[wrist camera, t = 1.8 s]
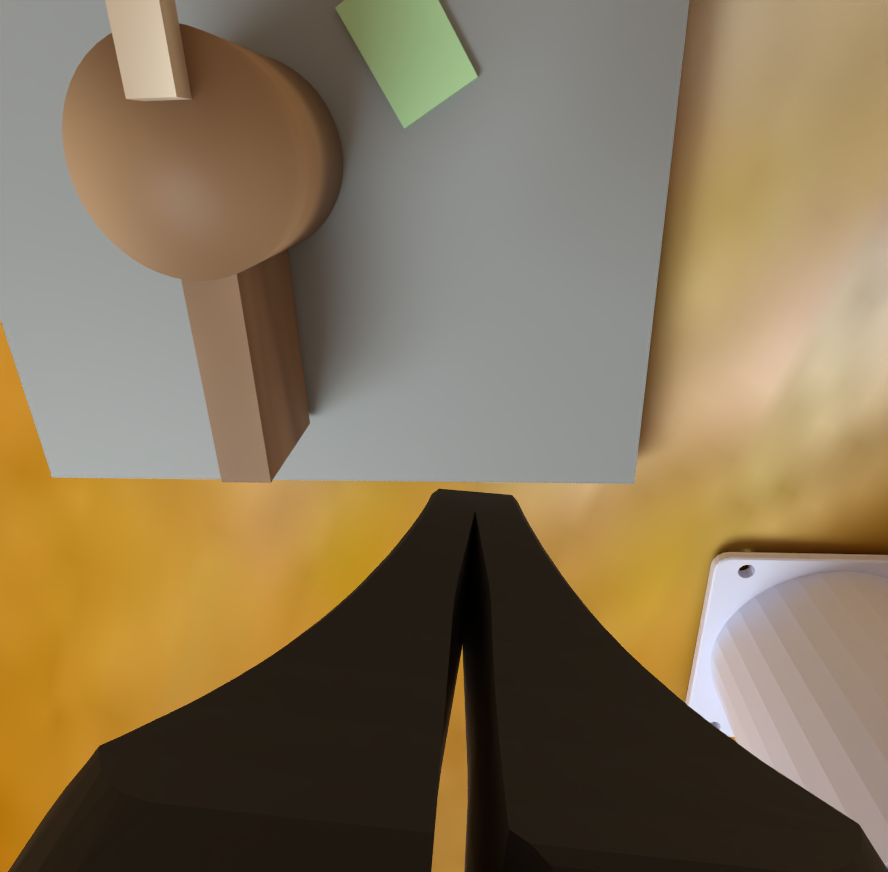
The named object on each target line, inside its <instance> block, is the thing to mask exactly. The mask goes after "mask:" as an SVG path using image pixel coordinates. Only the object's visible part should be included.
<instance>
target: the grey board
mask: <svg viewBox="0 0 888 872" xmlns="http://www.w3.org/2000/svg"><path fill="white" fill-rule="evenodd" d="M343 1H344V0H175V3H176V9H177V15H178V21H179V23H180V24H185V25H189V26H191V27H194V28H197V29H200V30H203V31H205V32H208V33H210V34H213V35H215V36H218V37H220V38H223V39H225V40H228V41H230V42H233V43H235V44H237V45H240V46H242V47H245V48H247V49H250V50H252V51H255V52H257V53H260V54H262V55H265V56H267V57H270V58H272V59H274V60H277V61H279V62H281V63H283V64H285V65H287V66H288V67H290V68H291V69H293V70H294V71H296V72H297V73H299V74H300V75H301V76H302V77H303V78H304V79H305V80H307V81H308V82H309V83H310V84H311V86H312V87H313V88H314V89H315V90H316V91H317V92H318V94H319V95H320V97H321V98H322V99H323V101H324V102H325V104H326V105H327V107H328V109H329V111H330V113H331V115H332V117H333V119H334V122H335V124H336V127H337V130H338V133H339V137H340V141H341V147H342V153H343V176H342V183H341V188H340V193H339V196H338V198H337V201H336V204H335V206H334V208H333V210H332V212H331V214H330V215H329V217H328V218H327V220H326V221H325V222H324V224H323V225H322V226H321V227H320V228H319V229H318V230H317V231H316V232H315V233H314V234H313V235H311V236H310V237H309V238H308V239H306V240H304V241H302V242H301V243H299V244H297V245H295V246H293V247H291V248H289V249H288V254H289V262H290V270H291V278H292V286H293V294H294V301H295V309H296V317H297V325H298V333H299V341H300V348H301V356H302V364H303V372H304V380H305V388H306V395H307V403H308V411H309V419H310V424H309V426H308V427H307V429H306V430H305V432H304V433H303V435H302V436H301V438H300V440H299V441H298V443H297V444H296V446H295V447H294V449H293V450H292V452H291V453H290V455H289V456H288V458H287V459H286V461H285V462H284V464H283V465H282V467H281V468H280V470H279V471H278V473H277V474H276V476H275V477H274V479H273V480H335V481H428V482H520V483H612V484H634V481H635V473H636V464H637V455H638V446H639V438H640V429H641V420H642V411H643V403H644V394H645V385H646V377H647V368H648V359H649V350H650V342H651V333H652V324H653V316H654V307H655V298H656V289H657V281H658V272H659V263H660V254H661V246H662V237H663V228H664V220H665V211H666V202H667V193H668V185H669V176H670V167H671V158H672V150H673V141H674V132H675V124H676V115H677V106H678V97H679V89H680V80H681V71H682V62H683V54H684V45H685V36H686V28H687V19H688V10H689V1H690V0H439V2H440V4H441V6H442V8H443V10H444V12H445V14H446V16H447V18H448V20H449V22H450V24H451V26H452V28H453V29H454V31H455V33H456V35H457V37H458V39H459V41H460V43H461V45H462V47H463V49H464V51H465V53H466V55H467V57H468V58H469V60H470V62H471V64H472V66H473V68H474V70H475V72H476V74H477V76H478V78H477V79H475V80H474V81H473V82H471V83H470V84H468V85H467V86H465V87H464V88H463V89H461V90H460V91H458V92H457V93H455V94H454V95H453V96H451V97H450V98H448V99H447V100H445V101H444V102H443V103H441V104H440V105H438V106H437V107H436V108H434V109H433V110H431V111H430V112H428V113H427V114H426V115H424V116H423V117H421V118H420V119H418V120H417V121H416V122H414V123H413V124H411V125H410V126H408V127H407V128H406V129H404V127H403V126H402V124H401V122H400V120H399V119H398V117H397V115H396V113H395V112H394V110H393V108H392V106H391V105H390V103H389V101H388V99H387V98H386V96H385V94H384V92H383V91H382V89H381V87H380V86H379V84H378V82H377V80H376V79H375V77H374V75H373V73H372V72H371V70H370V68H369V66H368V65H367V63H366V61H365V59H364V58H363V56H362V54H361V52H360V51H359V49H358V47H357V45H356V44H355V42H354V40H353V38H352V37H351V35H350V33H349V31H348V30H347V28H346V26H345V24H344V23H343V21H342V19H341V17H340V16H339V14H338V12H337V10H336V9H335V7H337V6H338V5H339V4H340V3H342V2H343ZM111 33H112V31H111V26H110V21H109V17H108V12H107V7H106V2H105V0H0V319H1V323H2V326H3V329H4V332H5V335H6V338H7V341H8V344H9V347H10V350H11V353H12V356H13V359H14V362H15V365H16V368H17V371H18V374H19V377H20V380H21V383H22V386H23V389H24V392H25V395H26V398H27V402H28V405H29V408H30V411H31V414H32V417H33V420H34V423H35V426H36V429H37V432H38V435H39V438H40V441H41V444H42V447H43V450H44V453H45V456H46V459H47V462H48V465H49V468H50V471H51V474H52V477H59V478H151V479H221V476H220V471H219V466H218V461H217V456H216V451H215V446H214V441H213V436H212V431H211V426H210V421H209V416H208V411H207V406H206V401H205V396H204V391H203V386H202V381H201V376H200V371H199V366H198V361H197V356H196V351H195V346H194V341H193V336H192V331H191V326H190V321H189V316H188V311H187V306H186V301H185V297H184V292H183V287H182V282H181V279H178V278H173V277H170V276H167V275H164V274H161V273H158V272H156V271H154V270H151V269H149V268H147V267H145V266H143V265H142V264H140V263H138V262H137V261H135V260H133V259H132V258H131V257H129V256H128V255H127V254H125V253H124V252H123V251H121V250H120V249H119V248H118V247H117V246H116V245H115V244H114V243H112V242H111V241H110V240H109V239H108V238H107V237H106V235H105V234H104V233H103V232H102V231H101V230H100V229H99V227H98V226H97V225H96V224H95V222H94V221H93V219H92V218H91V216H90V215H89V214H88V212H87V211H86V209H85V207H84V205H83V203H82V202H81V200H80V198H79V196H78V194H77V192H76V189H75V187H74V185H73V182H72V180H71V176H70V173H69V170H68V167H67V163H66V158H65V153H64V148H63V137H62V117H63V109H64V102H65V97H66V94H67V91H68V87H69V84H70V81H71V79H72V77H73V75H74V73H75V71H76V69H77V67H78V65H79V64H80V62H81V61H82V60H83V58H84V57H85V55H86V54H87V53H88V52H89V51H90V50H91V49H92V48H93V47H94V46H95V45H96V44H97V43H98V42H99V41H101V40H102V39H103V38H105V37H106V36H107V35H109V34H111Z"/></svg>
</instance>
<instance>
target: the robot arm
mask: <svg viewBox="0 0 888 872" xmlns="http://www.w3.org/2000/svg"><path fill="white" fill-rule="evenodd" d="M743 565H750V566H749V568H747V569H746V570H742V571H740V570H739V568H740V567H742V566H743ZM462 644H463V668H464V693H465V717H466V740H467V764H468V810H467V831H466V852H465V872H888V555H868V554H815V553H762V552H725V553H721V554H719V555H717V556H716V557H715V558H714V559H713V561H712V563H711V567H710V573H709V578H708V584H707V589H706V594H705V600H704V605H703V611H702V616H701V621H700V627H699V632H698V638H697V643H696V648H695V654H694V659H693V665H692V670H691V675H690V681H689V686H688V692H687V697H686V703H684V702H683V701H682V700H681V699H680V698H678V697H677V696H676V695H675V694H674V693H673V692H671V691H670V690H669V689H668V688H667V687H666V686H665V685H663V684H662V683H661V682H660V681H659V680H658V679H657V678H655V677H654V676H653V675H652V674H651V673H650V672H649V671H647V670H646V669H645V668H644V667H643V666H642V665H641V664H640V663H639V662H638V661H637V660H636V659H635V658H633V657H632V656H631V655H630V654H629V653H628V652H627V651H626V650H625V649H624V648H623V647H622V646H621V645H620V644H619V643H618V642H617V641H616V639H615V638H614V637H613V636H612V635H611V634H610V633H609V632H608V631H607V630H606V629H605V628H604V627H603V626H602V625H601V624H600V622H599V621H598V620H597V619H596V618H595V617H594V616H593V614H592V613H591V612H590V611H589V610H588V608H587V607H586V606H585V605H584V603H583V602H582V601H581V600H580V598H579V597H578V596H577V595H576V593H575V592H574V591H573V590H572V588H571V587H570V586H569V584H568V583H567V581H566V580H565V579H564V577H563V576H562V575H561V573H560V572H559V570H558V569H557V567H556V566H555V564H554V563H553V562H552V560H551V559H550V557H549V556H548V554H547V553H546V551H545V550H544V548H543V547H542V545H541V543H540V542H539V540H538V539H537V537H536V535H535V533H534V532H533V530H532V528H531V527H530V525H529V523H528V521H527V520H526V518H525V516H524V514H523V512H522V510H521V508H520V506H519V504H518V502H517V500H516V499H515V498H514V497H513V496H512V495H504V494H493V493H481V492H470V491H458V490H447V489H438V490H437V491H436V492H434V493H433V494H432V495H431V497H430V499H429V501H428V503H427V505H426V506H425V508H424V509H423V511H422V512H421V514H420V515H419V517H418V518H417V520H416V521H415V522H414V524H413V525H412V527H411V528H410V529H409V530H408V532H407V533H406V534H405V535H404V537H403V538H402V539H401V540H400V542H399V543H398V544H397V545H396V547H395V548H394V549H393V550H392V551H391V553H390V554H389V555H388V556H387V557H386V558H385V559H384V560H383V561H382V562H381V563H380V565H379V566H378V567H377V568H376V569H375V570H374V571H373V572H372V573H371V574H370V575H369V576H368V577H367V578H366V579H365V580H364V581H363V582H362V583H361V584H360V585H359V586H358V587H357V588H356V589H355V590H354V591H353V592H352V593H351V594H350V595H349V596H348V597H347V598H345V599H344V600H343V601H342V602H341V603H340V604H339V605H337V606H336V607H335V608H334V609H333V610H332V611H330V612H329V613H328V614H327V615H326V616H325V617H323V618H322V619H321V620H320V621H318V622H317V623H316V624H314V625H313V626H312V627H310V628H309V629H308V630H306V631H305V632H304V633H302V634H301V635H300V636H298V637H297V638H296V639H294V640H293V641H292V642H290V643H289V644H288V645H286V646H285V647H284V648H282V649H281V650H279V651H278V652H276V653H275V654H273V655H272V656H270V657H269V658H267V659H266V660H264V661H263V662H261V663H260V664H258V665H256V666H255V667H253V668H251V669H250V670H248V671H246V672H245V673H243V674H241V675H240V676H238V677H237V678H235V679H233V680H231V681H230V682H228V683H226V684H224V685H222V686H221V687H219V688H217V689H215V690H214V691H212V692H210V693H208V694H206V695H205V696H203V697H201V698H199V699H197V700H195V701H193V702H191V703H189V704H187V705H185V706H183V707H181V708H179V709H177V710H175V711H173V712H171V713H169V714H167V715H165V716H162V717H160V718H158V719H156V720H154V721H152V722H150V723H148V724H146V725H144V726H142V727H140V728H137V729H135V730H133V731H131V732H129V733H127V734H125V735H123V736H121V737H118V738H116V739H114V740H112V741H109V742H107V743H105V744H103V745H100V746H99V747H98V748H97V750H96V751H95V752H94V754H93V755H92V756H91V758H90V759H89V761H88V762H87V763H86V764H85V765H84V767H83V768H82V769H81V770H80V771H79V773H78V774H77V775H76V776H75V777H74V779H73V780H72V781H71V782H70V783H69V785H68V786H67V787H66V788H65V790H64V791H63V792H62V794H61V795H60V796H59V798H58V799H57V800H56V802H55V803H54V805H53V806H52V807H51V809H50V810H49V811H48V813H47V814H46V816H45V817H44V819H43V820H42V822H41V823H40V825H39V826H38V828H37V829H36V831H35V832H34V834H33V835H32V837H31V838H30V840H29V841H28V843H27V844H26V846H25V847H24V849H23V850H22V852H21V853H20V855H19V856H18V858H17V859H16V861H15V862H14V864H13V865H12V867H11V868H10V870H9V871H8V872H431V867H432V855H433V843H434V831H435V819H436V807H437V796H438V789H439V781H440V774H441V766H442V761H443V755H444V749H445V743H446V737H447V732H448V726H449V720H450V714H451V708H452V703H453V697H454V691H455V685H456V679H457V673H458V668H459V662H460V656H461V650H462ZM710 722H713V723H710ZM728 736H732V737H735V739H736V741H737V742H735V741H734V740H733V739H731V738H730V737H728Z"/></svg>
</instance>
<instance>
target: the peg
mask: <svg viewBox="0 0 888 872" xmlns="http://www.w3.org/2000/svg"><path fill="white" fill-rule="evenodd" d="M105 2H106V7H107V12H108V17H109V21H110V26H111V31H112V33H111V34H109V35H107V36H106V37H105V38H103V39H102V40H101V41H99V42H98V43H97V44H96V45H95V46H94V47H93V48H92V49H91V50H90V51H89V52H88V53H87V54H86V55H85V57H84V58H83V60H82V61H81V62H80V64H79V65H78V67H77V69H76V71H75V73H74V75H73V77H72V79H71V81H70V84H69V87H68V91H67V94H66V97H65V102H64V109H63V117H62V137H63V148H64V153H65V158H66V163H67V167H68V170H69V173H70V176H71V180H72V182H73V185H74V187H75V189H76V192H77V194H78V196H79V198H80V200H81V202H82V203H83V205H84V207H85V209H86V211H87V212H88V214H89V215H90V216H91V218H92V219H93V221H94V222H95V224H96V225H97V226H98V227H99V229H100V230H101V231H102V232H103V233H104V234H105V235H106V237H107V238H108V239H109V240H110V241H111V242H112V243H114V244H115V245H116V246H117V247H118V248H119V249H120V250H121V251H123V252H124V253H125V254H127V255H128V256H129V257H131V258H132V259H133V260H135V261H137V262H138V263H140V264H142V265H143V266H145V267H147V268H149V269H151V270H154V271H156V272H158V273H161V274H164V275H167V276H170V277H173V278H178V279H181V282H182V287H183V292H184V297H185V301H186V306H187V311H188V316H189V321H190V326H191V331H192V336H193V341H194V346H195V351H196V356H197V361H198V366H199V371H200V376H201V381H202V386H203V391H204V396H205V401H206V406H207V411H208V416H209V421H210V426H211V431H212V436H213V441H214V446H215V451H216V456H217V461H218V466H219V471H220V476H221V481H222V482H259V483H271V482H272V480H273V479H274V477H275V476H276V474H277V473H278V471H279V470H280V468H281V467H282V465H283V464H284V462H285V461H286V459H287V458H288V456H289V455H290V453H291V452H292V450H293V449H294V447H295V446H296V444H297V443H298V441H299V440H300V438H301V436H302V435H303V433H304V432H305V430H306V429H307V427H308V426H309V424H310V419H309V411H308V403H307V395H306V388H305V380H304V372H303V364H302V356H301V348H300V341H299V333H298V325H297V317H296V309H295V301H294V294H293V286H292V278H291V270H290V262H289V254H288V249H289V248H291V247H293V246H295V245H297V244H299V243H301V242H302V241H304V240H306V239H308V238H309V237H310V236H311V235H313V234H314V233H315V232H316V231H317V230H318V229H319V228H320V227H321V226H322V225H323V224H324V222H325V221H326V220H327V218H328V217H329V215H330V214H331V212H332V210H333V208H334V206H335V204H336V201H337V198H338V196H339V193H340V188H341V183H342V176H343V153H342V147H341V141H340V137H339V133H338V130H337V127H336V124H335V122H334V119H333V117H332V115H331V113H330V111H329V109H328V107H327V105H326V104H325V102H324V101H323V99H322V98H321V97H320V95H319V94H318V92H317V91H316V90H315V89H314V88H313V87H312V86H311V84H310V83H309V82H308V81H307V80H305V79H304V78H303V77H302V76H301V75H300V74H299V73H297V72H296V71H294V70H293V69H291V68H290V67H288V66H287V65H285V64H283V63H281V62H279V61H277V60H274V59H272V58H270V57H267V56H265V55H262V54H260V53H257V52H255V51H252V50H250V49H247V48H245V47H242V46H240V45H237V44H235V43H233V42H230V41H228V40H225V39H223V38H220V37H218V36H215V35H213V34H210V33H208V32H205V31H203V30H200V29H197V28H194V27H191V26H189V25H185V24H180V23H179V21H178V15H177V9H176V3H175V0H105Z"/></svg>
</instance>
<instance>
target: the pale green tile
mask: <svg viewBox="0 0 888 872" xmlns="http://www.w3.org/2000/svg"><path fill="white" fill-rule="evenodd" d="M335 9H336V10H337V12H338V14H339V16H340V17H341V19H342V21H343V23H344V24H345V26H346V28H347V30H348V31H349V33H350V35H351V37H352V38H353V40H354V42H355V44H356V45H357V47H358V49H359V51H360V52H361V54H362V56H363V58H364V59H365V61H366V63H367V65H368V66H369V68H370V70H371V72H372V73H373V75H374V77H375V79H376V80H377V82H378V84H379V86H380V87H381V89H382V91H383V92H384V94H385V96H386V98H387V99H388V101H389V103H390V105H391V106H392V108H393V110H394V112H395V113H396V115H397V117H398V119H399V120H400V122H401V124H402V126H403V127H404V129H406V128H407V127H408V126H410V125H411V124H413V123H414V122H416V121H417V120H418V119H420V118H421V117H423V116H424V115H426V114H427V113H428V112H430V111H431V110H433V109H434V108H436V107H437V106H438V105H440V104H441V103H443V102H444V101H445V100H447V99H448V98H450V97H451V96H453V95H454V94H455V93H457V92H458V91H460V90H461V89H463V88H464V87H465V86H467V85H468V84H470V83H471V82H473V81H474V80H475V79H477V78H478V76H477V74H476V72H475V70H474V68H473V66H472V64H471V62H470V60H469V58H468V57H467V55H466V53H465V51H464V49H463V47H462V45H461V43H460V41H459V39H458V37H457V35H456V33H455V31H454V29H453V28H452V26H451V24H450V22H449V20H448V18H447V16H446V14H445V12H444V10H443V8H442V6H441V4H440V2H439V0H344V1H343V2H342V3H340V4H339V5H338V6H337V7H335Z"/></svg>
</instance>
